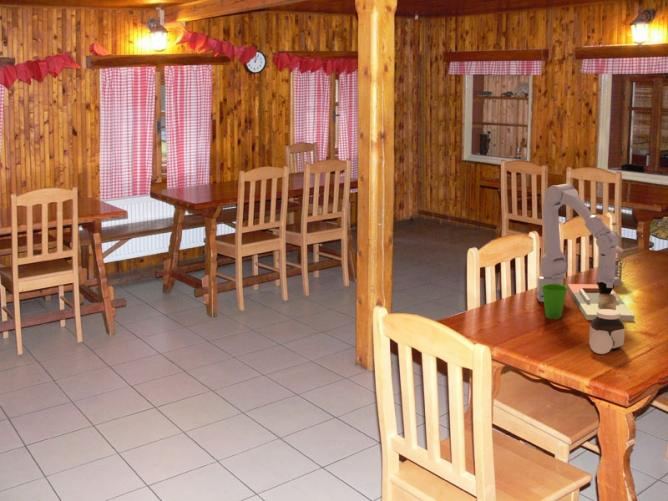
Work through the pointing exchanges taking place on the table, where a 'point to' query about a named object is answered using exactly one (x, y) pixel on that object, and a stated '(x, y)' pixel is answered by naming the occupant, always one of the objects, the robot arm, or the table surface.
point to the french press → (617, 260)
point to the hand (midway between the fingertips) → (604, 302)
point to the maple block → (607, 301)
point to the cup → (554, 299)
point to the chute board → (595, 301)
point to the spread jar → (606, 331)
